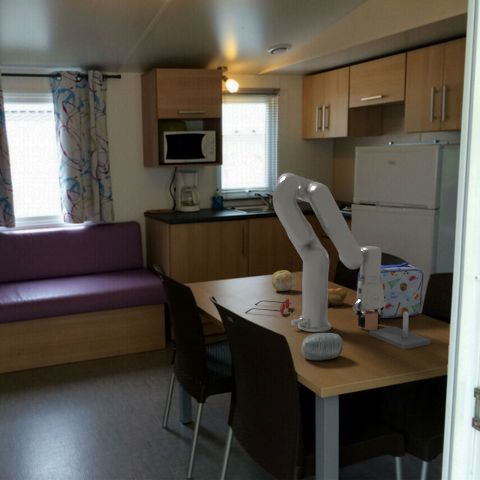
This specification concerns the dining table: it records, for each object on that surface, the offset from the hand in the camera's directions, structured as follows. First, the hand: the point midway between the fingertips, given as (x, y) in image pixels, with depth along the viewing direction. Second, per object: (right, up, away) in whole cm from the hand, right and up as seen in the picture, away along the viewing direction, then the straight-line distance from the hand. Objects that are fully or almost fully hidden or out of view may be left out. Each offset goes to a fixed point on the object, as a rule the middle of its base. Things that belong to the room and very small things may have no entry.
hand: (368, 324), depth 218 cm
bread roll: (-10, +4, +33) cm, 35 cm away
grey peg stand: (+8, -3, -14) cm, 16 cm away
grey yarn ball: (-22, -6, -32) cm, 39 cm away
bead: (0, -1, 0) cm, 1 cm away
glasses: (-37, +2, +24) cm, 44 cm away
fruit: (-29, +8, +57) cm, 64 cm away
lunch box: (+12, +1, +16) cm, 20 cm away
